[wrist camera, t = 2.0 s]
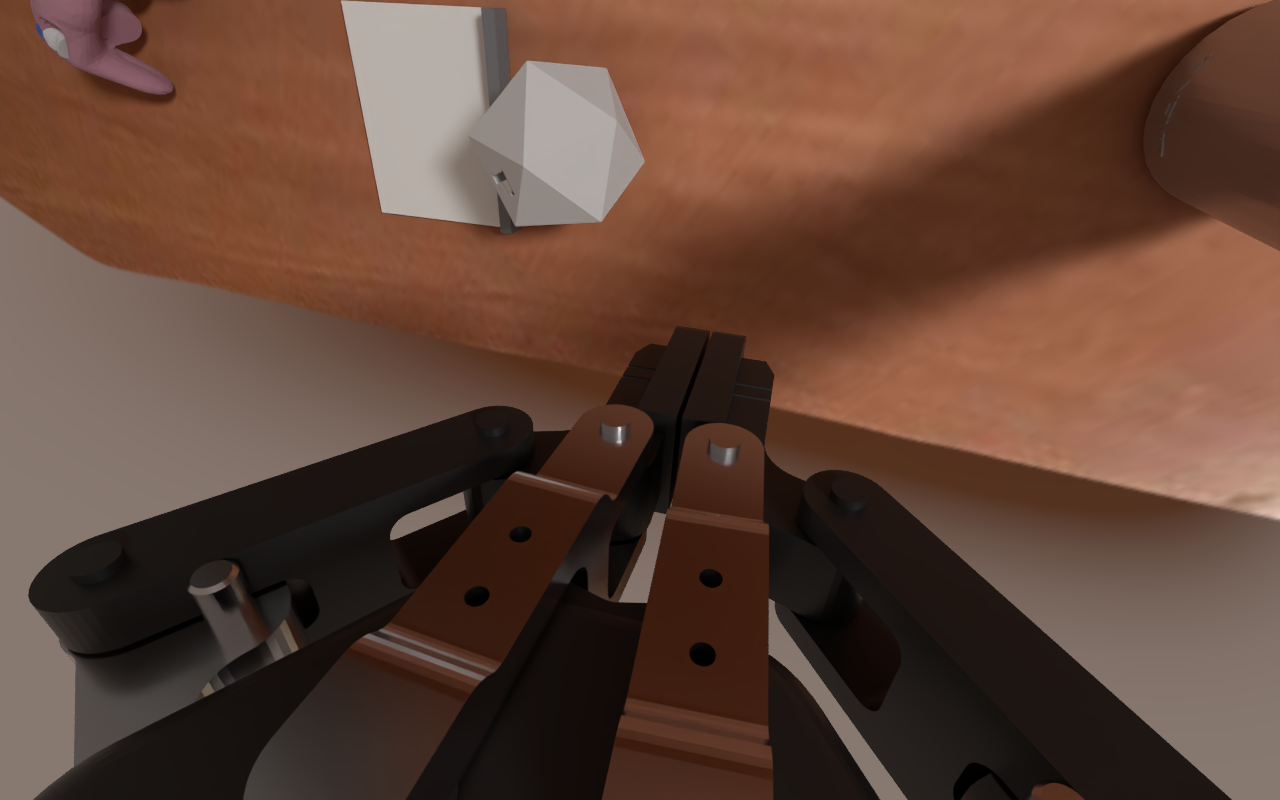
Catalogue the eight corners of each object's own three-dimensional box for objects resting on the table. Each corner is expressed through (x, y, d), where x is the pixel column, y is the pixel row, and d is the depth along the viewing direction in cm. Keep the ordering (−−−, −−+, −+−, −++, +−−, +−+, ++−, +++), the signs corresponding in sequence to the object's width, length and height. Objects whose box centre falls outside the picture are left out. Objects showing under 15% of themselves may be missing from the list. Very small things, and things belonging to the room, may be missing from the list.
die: (500, 97, 38) (410, 118, 30) (621, 28, 34) (557, 30, 26) (561, 223, 41) (496, 273, 33) (678, 172, 38) (637, 215, 29)
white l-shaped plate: (505, 8, 35) (493, 8, 34) (520, 228, 42) (511, 234, 41) (344, 0, 37) (327, -1, 36) (384, 211, 44) (371, 216, 43)
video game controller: (163, -79, 38) (18, -124, 32) (206, -28, 38) (67, -64, 32) (140, 58, 44) (13, 40, 38) (178, 103, 43) (55, 93, 37)
